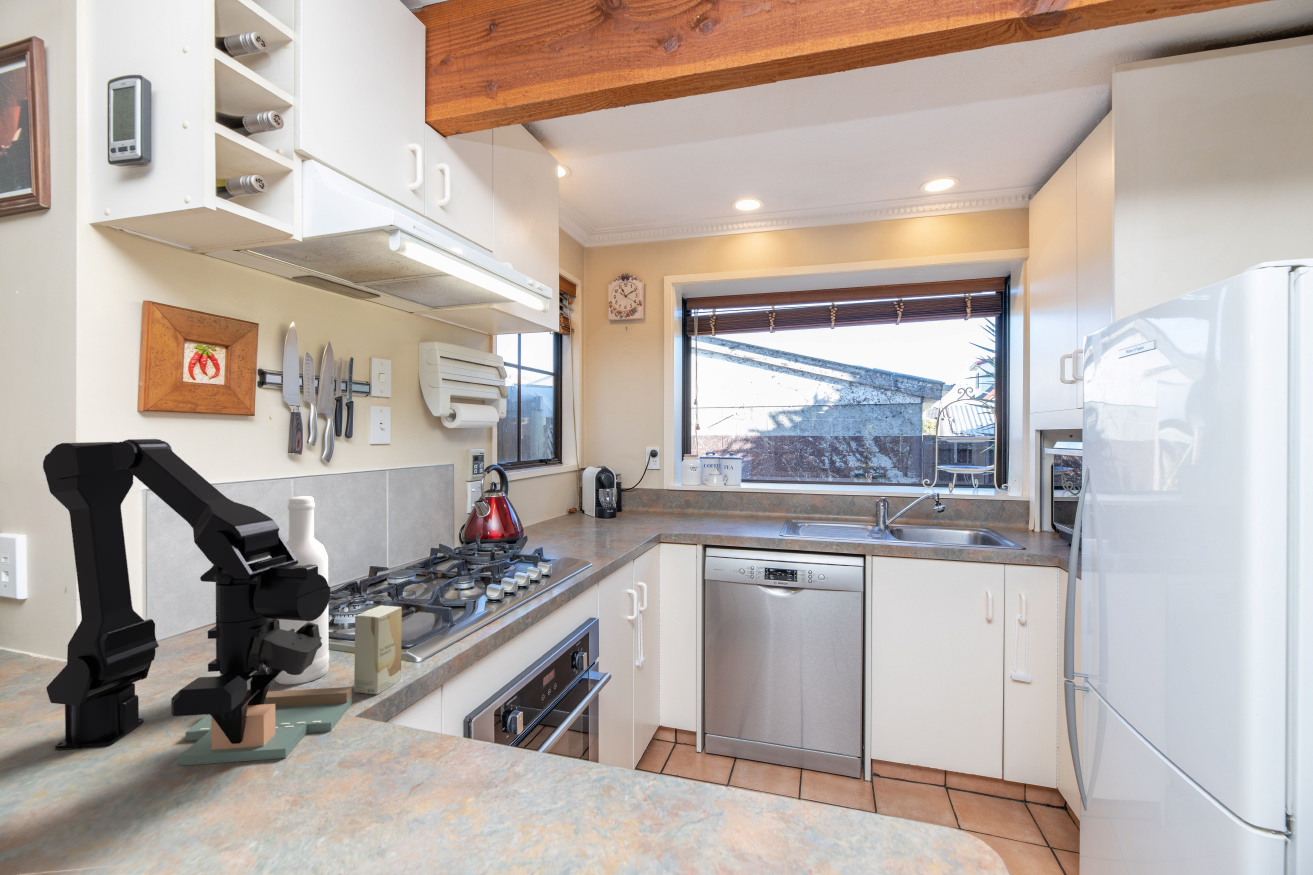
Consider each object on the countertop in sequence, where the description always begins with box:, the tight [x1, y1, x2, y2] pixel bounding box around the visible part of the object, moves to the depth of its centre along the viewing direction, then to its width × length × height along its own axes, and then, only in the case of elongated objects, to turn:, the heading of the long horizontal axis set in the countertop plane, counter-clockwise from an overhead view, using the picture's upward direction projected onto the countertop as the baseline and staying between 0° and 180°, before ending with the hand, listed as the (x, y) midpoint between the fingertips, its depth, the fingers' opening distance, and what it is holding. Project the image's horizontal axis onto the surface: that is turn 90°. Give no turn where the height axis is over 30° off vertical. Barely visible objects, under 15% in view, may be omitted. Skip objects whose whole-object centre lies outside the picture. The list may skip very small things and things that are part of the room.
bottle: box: [274, 495, 330, 686], centre depth 98 cm, size 8×8×30 cm
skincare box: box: [353, 604, 403, 695], centre depth 94 cm, size 6×4×12 cm
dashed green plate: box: [185, 686, 353, 742], centre depth 83 cm, size 18×8×3 cm, turn 99°
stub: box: [179, 704, 307, 767], centre depth 76 cm, size 12×6×5 cm, turn 99°
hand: (244, 735), depth 75 cm, fingers closed on stub, 3 cm apart
